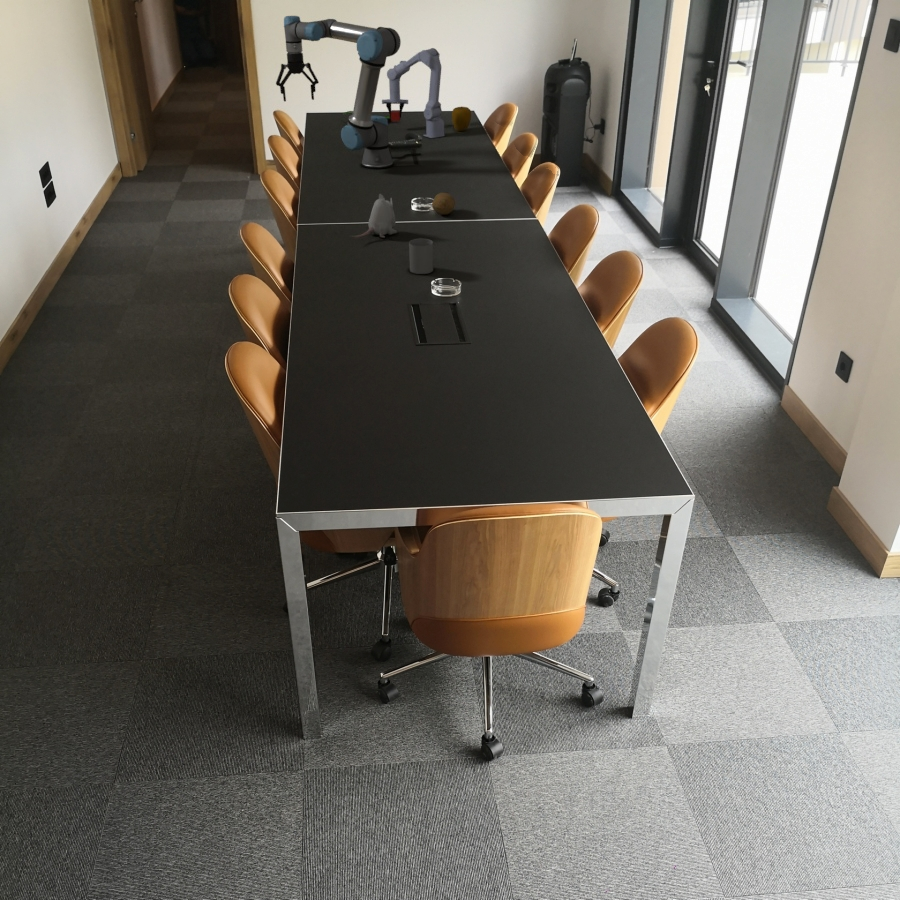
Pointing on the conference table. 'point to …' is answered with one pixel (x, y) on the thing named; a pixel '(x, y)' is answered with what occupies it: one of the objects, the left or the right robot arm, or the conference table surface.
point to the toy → (381, 218)
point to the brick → (395, 115)
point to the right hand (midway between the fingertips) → (395, 117)
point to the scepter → (352, 112)
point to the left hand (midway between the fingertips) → (298, 100)
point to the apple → (461, 118)
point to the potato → (443, 203)
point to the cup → (421, 256)
